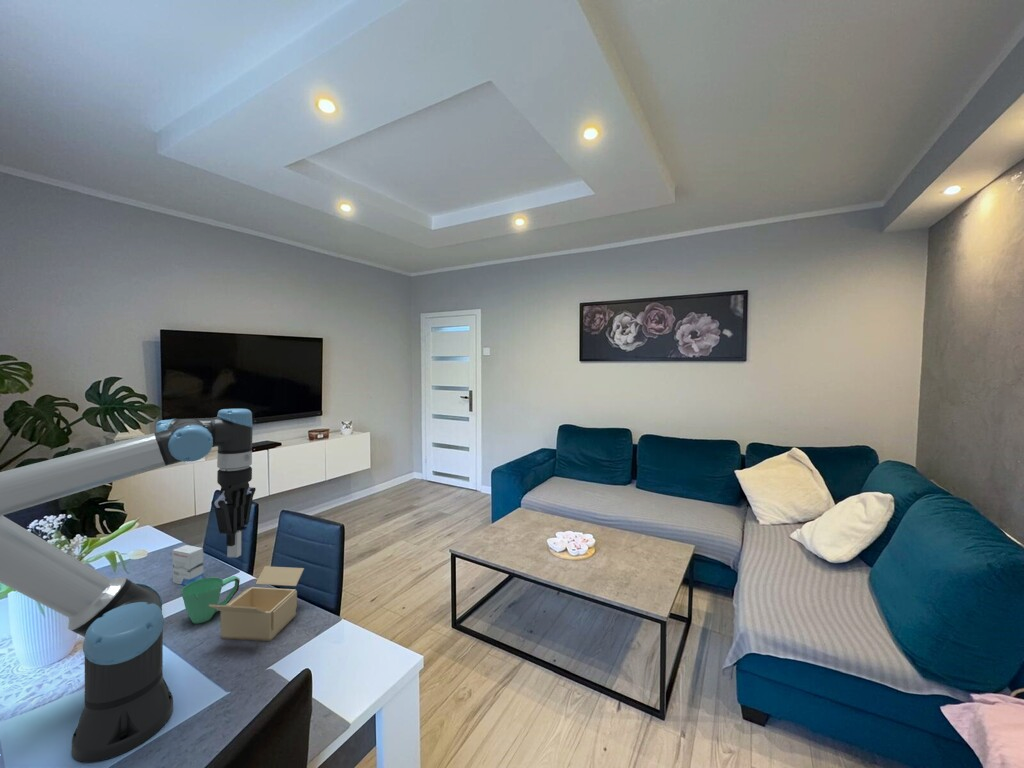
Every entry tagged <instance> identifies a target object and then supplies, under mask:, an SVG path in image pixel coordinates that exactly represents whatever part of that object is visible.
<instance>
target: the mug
mask: <svg viewBox="0 0 1024 768" xmlns="http://www.w3.org/2000/svg"><path fill="white" fill-rule="evenodd" d="M240 581H241V578H240V577H237V576H236V575H231V576H230V577H227V578H224V579H222V578H220V577H214V576H213V577H212V576H211V577H206V578H205V577H204V579H200V580H197V581H194V582H192V583H190V584H188V585H186V586H185V585H184V587H182V588H181V597H182V600H183V603H184V608H185V610H186V612H187V615H188V616H189V618H190V620H191V622H192V623H193V624H203V623H205V622H208V621H210V620H211V619H212V618H213V616H214V614H216V613H217V612H218V611H219V610H217V609H214V608H212V607H210V606H209V604H211V605H227V604H228V603H229V602H231V601H232V600H233V599H234V596H235V595H236V593H237V592H238V591H239V587H240ZM231 582H234V586H233V587H232V589H231V590H230V592H229V593H228V594H227V596H226V598H225V599H223V600H222V601H221V602H219V601H220V597H221V591H222V589H223V587H225V586H226V585H228V584H230V583H231Z"/></svg>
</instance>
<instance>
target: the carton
mask: <svg viewBox="0 0 1024 768" xmlns="http://www.w3.org/2000/svg"><path fill="white" fill-rule="evenodd" d="M297 603H298V591H297V589H296V588H295V589H294V588H293V589H291V588H276V587H275V588H274V587H258V586H257V587H256V586H251V587H250V588H247V589H245V590H244V591H242V592H241V593H240V594H239V595H237V596H236V597H234V598H232V599H231V600H230V601H229V603H227V604H226V605H228V606H246V607H257V608H259V609H261V610H263V611H265V612H266V613H265V614H262V613H245V612H228V611H220V631H221V632H220V633H221V635H220V639H225V640H238V641H239V640H240V641H242V640H243V641H260V642H271V641H272V640H273V639H274V638H275V637H276V636H277V635H278V634H279V633H280V632H281V630H283V628H285V627H286V626H287V625H288V624H289V622H290V621H291V620H293V618H295V617H296V615H297V614H296V613H297V611H296V610H297V607H298V606H297V605H298V604H297Z"/></svg>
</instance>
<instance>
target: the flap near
mask: <svg viewBox="0 0 1024 768" xmlns="http://www.w3.org/2000/svg"><path fill="white" fill-rule="evenodd" d="M209 606H210V607H212V608H214V609H217V610H218V611H220V612H221V611H228V612H245V613H262V614H265V613H266V612H265V611H263V610H261V609H259V608H257V607H246V606H228V605H227V604H226V605H218V604H217V605H211V604H209Z"/></svg>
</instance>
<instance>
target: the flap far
mask: <svg viewBox="0 0 1024 768" xmlns="http://www.w3.org/2000/svg"><path fill="white" fill-rule="evenodd" d="M304 570H305V568H304V567H287V566H286V567H285V566H269V565H264V567H263V569H262V571H261V573H260V575H259V576H258V578H257V581H255V584H256V585H266V586H267V585H268V586H283V587H297V585H298V583H299V582H300V581H299V580H300V579H301V577H302V575H303V572H304Z"/></svg>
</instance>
